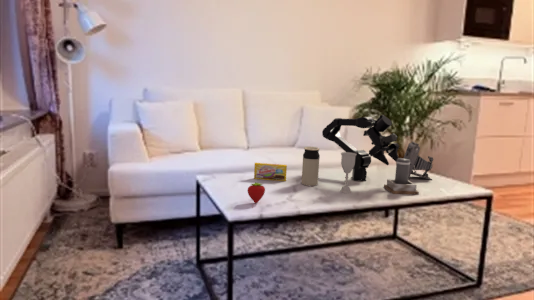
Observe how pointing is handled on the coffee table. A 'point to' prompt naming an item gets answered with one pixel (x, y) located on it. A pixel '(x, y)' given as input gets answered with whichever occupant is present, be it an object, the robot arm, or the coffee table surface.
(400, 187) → the mount
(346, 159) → the chalice
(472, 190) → the coffee table surface
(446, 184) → the coffee table surface
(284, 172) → the candy box
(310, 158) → the travel mug
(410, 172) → the camera
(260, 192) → the strawberry
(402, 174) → the lens
